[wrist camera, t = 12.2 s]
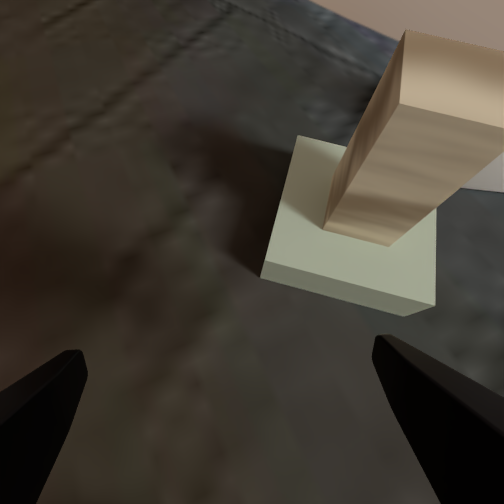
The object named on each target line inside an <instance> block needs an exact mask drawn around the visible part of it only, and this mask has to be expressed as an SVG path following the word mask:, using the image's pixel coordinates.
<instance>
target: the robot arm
mask: <svg viewBox="0 0 504 504" xmlns="http://www.w3.org/2000/svg"><path fill="white" fill-rule="evenodd" d="M372 361H373V364H374V367H375V369H376V372H377V374H378V377H379V379H380V382H381V384H382V387H383V389H384V392H385V394H386V397H387V399H388V402H389V404H390V406H391V409H392V411H393V413H394V415H395V417H396V419H397V421H398V422H399V424H400V426H401V428H402V430H403V432H404V434H405V436H406V438H407V440H408V442H409V444H410V446H411V447H412V449H413V451H414V453H415V455H416V457H417V459H418V461H419V463H420V465H421V467H422V469H423V470H424V472H425V474H426V476H427V478H428V480H429V482H430V484H431V486H432V488H433V490H434V492H435V494H436V495H437V497H438V499H439V501H440V503H441V504H504V397H502V396H500V395H499V394H497V393H495V392H493V391H491V390H490V389H488V388H486V387H484V386H483V385H481V384H479V383H477V382H475V381H474V380H472V379H470V378H468V377H466V376H465V375H463V374H461V373H459V372H457V371H456V370H454V369H452V368H450V367H449V366H447V365H445V364H443V363H441V362H440V361H438V360H436V359H434V358H432V357H431V356H429V355H427V354H425V353H423V352H422V351H420V350H418V349H416V348H414V347H413V346H411V345H409V344H407V343H406V342H404V341H402V340H400V339H398V338H397V337H395V336H393V335H391V334H378V335H377V336H376V337H375V341H374V347H373V352H372ZM87 377H88V371H87V367H86V363H85V359H84V355H83V352H82V351H81V350H66V351H64V352H62V353H60V354H59V355H57V356H56V357H54V358H53V359H51V360H50V361H48V362H46V363H45V364H43V365H42V366H40V367H39V368H37V369H36V370H34V371H32V372H31V373H29V374H28V375H26V376H25V377H23V378H22V379H20V380H18V381H17V382H15V383H14V384H12V385H11V386H9V387H8V388H6V389H4V390H3V391H1V392H0V504H36V502H37V500H38V498H39V496H40V494H41V491H42V489H43V487H44V485H45V483H46V481H47V478H48V476H49V474H50V472H51V470H52V468H53V465H54V463H55V461H56V459H57V457H58V454H59V452H60V450H61V448H62V446H63V444H64V441H65V439H66V437H67V434H68V432H69V430H70V427H71V424H72V421H73V419H74V416H75V413H76V410H77V407H78V404H79V401H80V398H81V395H82V392H83V389H84V387H85V384H86V381H87Z"/></svg>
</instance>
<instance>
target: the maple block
mask: <svg viewBox="0 0 504 504" xmlns="http://www.w3.org/2000/svg"><path fill="white" fill-rule="evenodd" d="M503 152H504V51H499V50H495V49H490V48H486V47H481V46H477V45H473V44H468V43H463V42H459V41H455V40H450V39H445V38H441V37H437V36H432V35H428V34H424V33H419V32H415V31H410V30H405V32H404V34H403V36H402V38H401V40H400V42H399V44H398V46H397V48H396V50H395V52H394V54H393V56H392V58H391V60H390V62H389V64H388V66H387V68H386V70H385V72H384V74H383V76H382V78H381V80H380V82H379V84H378V86H377V88H376V90H375V92H374V94H373V96H372V98H371V100H370V102H369V104H368V106H367V108H366V110H365V112H364V114H363V116H362V118H361V120H360V122H359V124H358V126H357V128H356V130H355V132H354V134H353V136H352V138H351V140H350V142H349V144H348V146H347V148H346V150H345V152H344V154H343V156H342V158H341V160H340V162H339V164H338V166H337V168H336V170H335V172H334V174H333V176H332V181H331V186H330V191H329V197H328V202H327V207H326V213H325V218H324V223H323V229H322V230H325V231H329V232H333V233H336V234H340V235H344V236H348V237H352V238H356V239H360V240H363V241H367V242H371V243H375V244H379V245H383V246H387V247H389V246H391V245H392V244H393V243H394V242H396V241H397V240H398V239H399V238H400V237H402V236H403V235H404V234H405V233H406V232H408V231H409V230H410V229H411V228H412V227H414V226H415V225H416V224H417V223H418V222H420V221H421V220H422V219H423V218H424V217H426V216H427V215H428V214H429V213H430V212H432V211H433V210H434V209H435V208H436V207H438V206H439V205H440V204H441V203H442V202H444V201H445V200H446V199H447V198H448V197H450V196H451V195H452V194H453V193H455V192H456V191H457V190H458V189H459V188H461V187H462V186H463V185H464V184H465V183H467V182H468V181H469V180H470V179H471V178H473V177H474V176H475V175H476V174H477V173H479V172H480V171H481V170H482V169H483V168H485V167H486V166H487V165H488V164H489V163H491V162H492V161H493V160H494V159H495V158H497V157H498V156H499V155H500V154H501V153H503Z"/></svg>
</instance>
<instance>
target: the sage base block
mask: <svg viewBox="0 0 504 504" xmlns="http://www.w3.org/2000/svg"><path fill="white" fill-rule="evenodd" d="M346 148H347V147H344V146H340V145H336V144H332V143H328V142H324V141H320V140H316V139H311V138H307V137H303V136H299V135H298V137H297V140H296V144H295V148H294V152H293V155H292V159H291V163H290V166H289V170H288V174H287V178H286V182H285V185H284V189H283V193H282V197H281V200H280V204H279V208H278V212H277V216H276V219H275V223H274V227H273V231H272V234H271V238H270V242H269V246H268V249H267V253H266V257H265V261H264V265H263V268H262V272H261V276H260V278H262V279H266V280H270V281H274V282H277V283H281V284H285V285H288V286H292V287H296V288H300V289H303V290H307V291H311V292H314V293H318V294H322V295H325V296H329V297H333V298H337V299H340V300H344V301H348V302H351V303H355V304H359V305H362V306H366V307H370V308H374V309H377V310H381V311H385V312H388V313H392V314H396V315H400V316H403V317H404V316H407V315H410V314H413V313H416V312H419V311H421V310H424V309H427V308H430V307H433V306H435V273H436V208H435V209H434V210H433V211H432V212H430V213H429V214H428V215H427V216H426V217H424V218H423V219H422V220H421V221H420V222H418V223H417V224H416V225H415V226H414V227H412V228H411V229H410V230H409V231H408V232H406V233H405V234H404V235H403V236H402V237H400V238H399V239H398V240H397V241H396V242H394V243H393V244H392V245H391V246H389V247H387V246H383V245H379V244H375V243H371V242H367V241H363V240H360V239H356V238H352V237H348V236H344V235H340V234H336V233H333V232H329V231H325V230H322V229H323V223H324V218H325V213H326V207H327V202H328V197H329V191H330V186H331V181H332V176H333V174H334V172H335V170H336V168H337V166H338V164H339V162H340V160H341V158H342V156H343V154H344V152H345V150H346Z"/></svg>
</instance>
